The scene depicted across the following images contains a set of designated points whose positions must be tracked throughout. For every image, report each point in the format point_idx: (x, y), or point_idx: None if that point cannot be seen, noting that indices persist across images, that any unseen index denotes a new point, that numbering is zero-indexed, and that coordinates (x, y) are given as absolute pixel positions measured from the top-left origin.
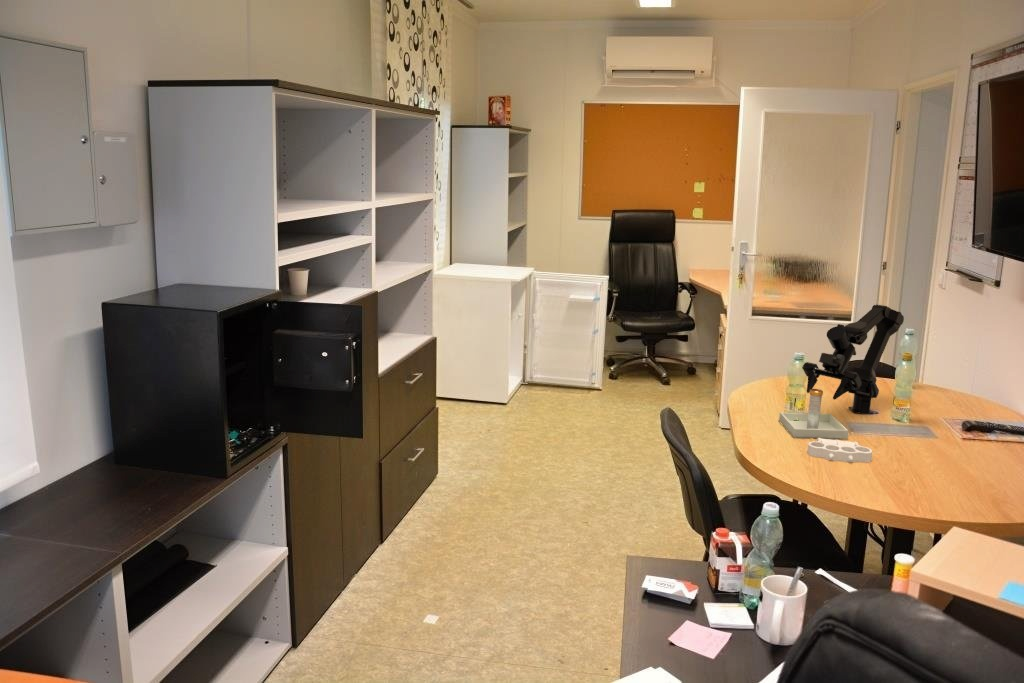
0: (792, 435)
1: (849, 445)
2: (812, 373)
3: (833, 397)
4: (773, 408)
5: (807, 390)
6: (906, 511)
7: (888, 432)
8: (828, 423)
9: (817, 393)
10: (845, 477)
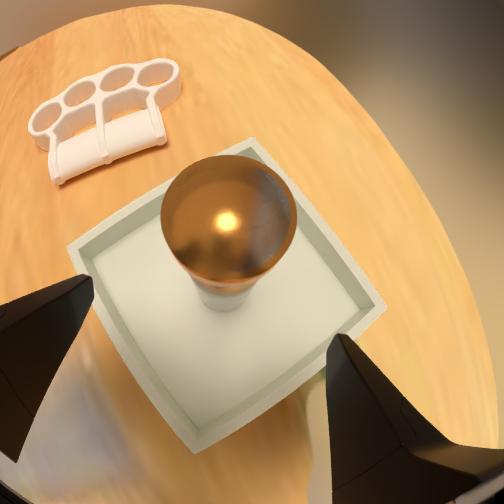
0: None
1: (72, 137)
2: (441, 471)
3: (84, 274)
4: None
5: (344, 335)
6: (48, 35)
7: None
8: (188, 404)
9: (201, 166)
10: (101, 47)
